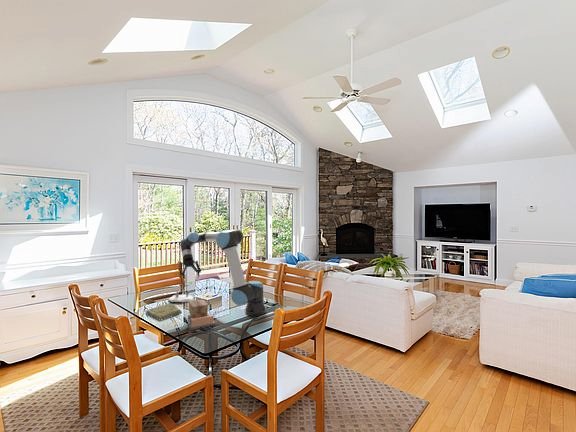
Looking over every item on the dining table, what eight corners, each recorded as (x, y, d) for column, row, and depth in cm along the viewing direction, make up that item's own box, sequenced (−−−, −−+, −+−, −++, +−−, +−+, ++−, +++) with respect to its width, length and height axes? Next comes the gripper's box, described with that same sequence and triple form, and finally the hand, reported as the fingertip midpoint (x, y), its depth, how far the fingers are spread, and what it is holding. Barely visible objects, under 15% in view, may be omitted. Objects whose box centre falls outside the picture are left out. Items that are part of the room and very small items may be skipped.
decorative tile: (160, 321, 217) (159, 316, 217) (146, 313, 230) (146, 309, 230) (183, 313, 232) (183, 308, 232) (169, 306, 245) (169, 302, 244)
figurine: (169, 304, 246) (171, 283, 246) (167, 297, 263) (169, 278, 262) (195, 303, 254) (196, 283, 254) (192, 296, 271) (193, 278, 271)
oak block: (205, 312, 227) (205, 298, 227) (210, 318, 217) (209, 304, 216) (186, 316, 221) (186, 302, 220) (190, 322, 211) (189, 307, 210)
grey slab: (206, 313, 230) (206, 305, 229) (215, 324, 211) (214, 315, 210) (184, 317, 222) (184, 308, 222) (190, 329, 203) (190, 320, 202)
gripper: (200, 257, 254) (205, 281, 241) (173, 260, 244) (177, 285, 231) (201, 252, 249) (207, 276, 236) (174, 254, 239) (178, 280, 226)
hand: (192, 281), depth 234 cm, fingers open, 8 cm apart
